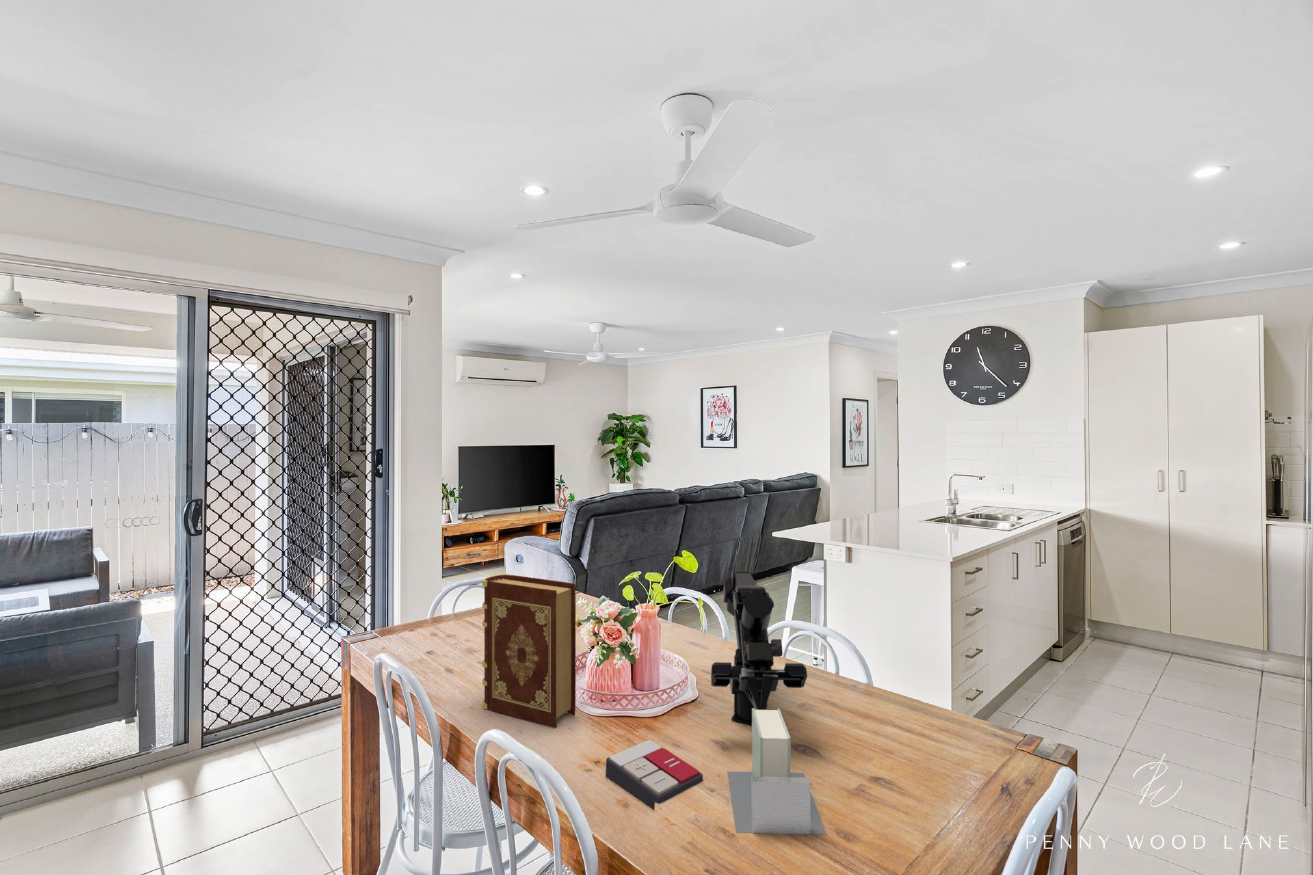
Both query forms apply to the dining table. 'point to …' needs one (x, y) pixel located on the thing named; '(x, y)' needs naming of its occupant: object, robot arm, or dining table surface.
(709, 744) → the dining table surface
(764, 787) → the bookend
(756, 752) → the book
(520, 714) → the decorative book
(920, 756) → the dining table surface
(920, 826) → the dining table surface
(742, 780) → the shelf board
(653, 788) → the calculator
